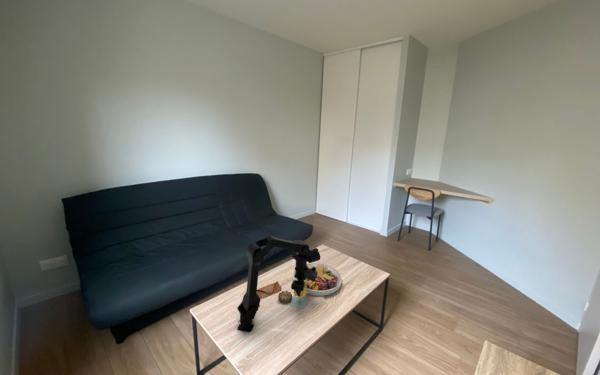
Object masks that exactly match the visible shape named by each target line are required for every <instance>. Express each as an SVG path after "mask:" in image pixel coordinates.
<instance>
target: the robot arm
mask: <svg viewBox="0 0 600 375" xmlns="http://www.w3.org/2000/svg"><path fill="white" fill-rule="evenodd" d="M274 248H278V249H284V250H290V251H293V252H295V253H294V254H293V255H292V256H291V258H292V259H293V260H295V267H294V270H295V276H294V277H295V278H297V279H298V280H294V281H293V280H292V282H291V285H290V289H291V290H293V291H294V290H295V291H296V293H297V295H298V296H300V294H301V291H303V290H304V287H305V283H304V280H306V278H307V279H309V280H311V281H312V282H314V281H315V279H316V277H317V271H316V268H315V267H312V268H310V269H309V267H308V266H307V264H309V263H315V262H316V263H317V262H319V261H320V260H321V254H320V252H319V249H318V248H316V247H314V248H312V249H310V245H308V244H307V243H306V242H305V241H304V240H301V239H294V240H289V239H284V238H279V237H275V236H272V235H268V236H266V237H264V238H262V239H258V240H257V241H255V242H253V243H250V244H249V245H248V246H247V248H246V256H247V261H248V271H247V273H248V274H247V280H246V281H247V283H246V291H245V292H244V295H243V296H242V301H241V302H240V304H239V305H238V306H237V308H236V309H237V311H238V313H239V324H238V327H237V328H236V329H237V331H241V332H246V333H251V332H252V330H253V328H254V326H255V324H254V323H253V322H254V321H253V320H254V319H255V317H256V315H257V312H258V310H259V309H260V307H261V305H260V303H261V299H260V297H259V296H258V294H257V289H258V282H259V273H260V266H261V263H262V262H263V261H264V260H263V259H264V257H265V256H267V255H268V254H270V252H271V250H272V249H274ZM298 296H297V297H298Z"/></svg>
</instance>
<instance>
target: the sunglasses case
mask: <svg viewBox="0 0 600 375" xmlns="http://www.w3.org/2000/svg"><path fill="white" fill-rule="evenodd" d="M282 291H283V290H282V286H281V285H280V283H279V281H275V282H273V283H271V284H268V285H265V286H262V287H259V288H257V294H258V296H259V297H260V300H263V299H266V298H268V297H270V296H273V295H275V294H279V293H280V292H282Z"/></svg>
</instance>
